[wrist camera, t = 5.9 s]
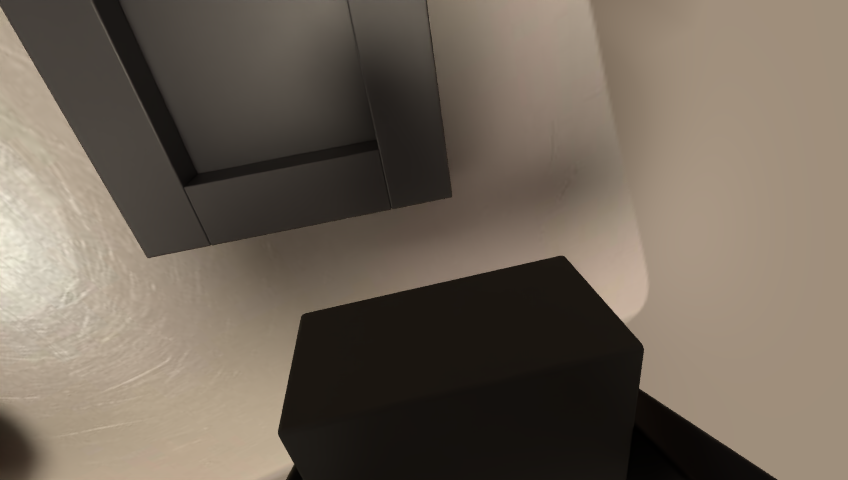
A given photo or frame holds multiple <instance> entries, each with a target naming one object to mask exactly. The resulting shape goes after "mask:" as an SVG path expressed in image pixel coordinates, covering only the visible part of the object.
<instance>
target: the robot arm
mask: <svg viewBox="0 0 848 480" xmlns="http://www.w3.org/2000/svg"><path fill="white" fill-rule="evenodd" d="M286 480H303V479H302V477H301V475H300V473H299V471H298V470H297V468H296V466H295V464H294V466H293V468H292V470H291V471H290V473H289V475H288V477H287V479H286ZM627 480H777V479H776V478H774V477H773V476H771V475H769V474H768V473H766V472H765V471H763V470H762V469H760V468H759V467H757V466H756V465H754V464H753V463H751V462H750V461H748V460H747V459H745V458H744V457H742V456H741V455H739V454H738V453H736V452H735V451H733V450H732V449H730V448H728V447H727V446H726V445H724V444H722V443H721V442H719V441H718V440H716V439H715V438H713V437H712V436H710V435H709V434H707V433H706V432H704V431H703V430H701V429H700V428H698V427H697V426H695V425H693V424H692V423H691V422H689V421H688V420H686V419H684V418H683V417H681V416H680V415H678V414H677V413H675V412H674V411H672V410H671V409H669V408H668V407H666V406H664V405H663V404H662V403H660V402H659V401H657V400H656V399H654V398H653V397H651V396H649V395H648V394H647V393H645V392H643V391H642V390H640V389H639V391H638V399H637V406H636V414H635V422H634V428H633V435H632V442H631V450H630V458H629V465H628V473H627Z"/></svg>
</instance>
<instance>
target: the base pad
mask: <svg viewBox="0 0 848 480" xmlns="http://www.w3.org/2000/svg"><path fill="white" fill-rule="evenodd" d="M0 6H1V8H2V10H3V12H4V13H5V15H6V17H7V18H8V20H9V22H10V24H11V25H12V27H13V29H14V30H15V32H16V34H17V35H18V37H19V39H20V41H21V42H22V44H23V46H24V47H25V49H26V51H27V53H28V54H29V56H30V58H31V59H32V61H33V63H34V65H35V66H36V68H37V70H38V71H39V73H40V75H41V77H42V78H43V80H44V82H45V83H46V85H47V87H48V89H49V90H50V92H51V94H52V95H53V97H54V99H55V101H56V102H57V104H58V106H59V107H60V109H61V111H62V113H63V114H64V116H65V118H66V119H67V121H68V123H69V125H70V126H71V128H72V130H73V131H74V133H75V135H76V137H77V138H78V140H79V142H80V143H81V145H82V147H83V149H84V150H85V152H86V154H87V155H88V157H89V159H90V161H91V162H92V164H93V166H94V167H95V169H96V171H97V173H98V174H99V176H100V178H101V179H102V181H103V183H104V185H105V186H106V188H107V190H108V191H109V193H110V195H111V197H112V198H113V200H114V202H115V203H116V205H117V207H118V208H119V210H120V212H121V214H122V215H123V217H124V219H125V220H126V222H127V224H128V226H129V227H130V229H131V231H132V232H133V234H134V236H135V238H136V239H137V241H138V243H139V244H140V246H141V248H142V250H143V251H144V253H145V255H146V256H147V258H151V257H156V256H161V255H166V254H171V253H176V252H181V251H186V250H191V249H196V248H201V247H206V246H210V245H217V244H222V243H227V242H232V241H237V240H241V239H246V238H251V237H256V236H261V235H266V234H271V233H276V232H281V231H286V230H291V229H296V228H301V227H306V226H311V225H316V224H321V223H326V222H331V221H336V220H341V219H346V218H351V217H356V216H361V215H366V214H371V213H376V212H381V211H386V210H391V208H392V209H396V208H401V207H406V206H411V205H416V204H421V203H426V202H431V201H436V200H441V199H446V198H451V197H452V190H451V182H450V175H449V167H448V159H447V152H446V144H445V137H444V129H443V121H442V114H441V106H440V99H439V91H438V83H437V76H436V68H435V60H434V53H433V45H432V38H431V30H430V22H429V15H428V7H427V0H0Z"/></svg>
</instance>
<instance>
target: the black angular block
mask: <svg viewBox="0 0 848 480" xmlns="http://www.w3.org/2000/svg"><path fill="white" fill-rule="evenodd" d="M643 353H644V348H643V345H642V343H641V342H640V341H639V340H638V339H637V338H636V337H635V336H634V334H633V333H632V332H631V331H630V330H629V329H628V328H627V327H626V325H625V324H624V323H623V322H622V321H621V320H620V319H619V317H618V316H617V315H616V314H615V313H614V312H613V311H612V310H611V308H610V307H609V306H608V305H607V304H606V303H605V302H604V300H603V299H602V298H601V297H600V296H599V295H598V294H597V293H596V291H595V290H594V289H593V288H592V287H591V286H590V285H589V283H588V282H587V281H586V280H585V279H584V278H583V277H582V276H581V274H580V273H579V272H578V271H577V270H576V269H575V268H574V267H573V265H572V264H571V263H570V262H569V261H568V260H567V259H566V257H564V256H557V257H552V258H548V259H544V260H539V261H535V262H530V263H526V264H522V265H517V266H513V267H508V268H504V269H499V270H495V271H491V272H486V273H482V274H477V275H473V276H468V277H464V278H460V279H455V280H451V281H446V282H442V283H437V284H433V285H429V286H424V287H420V288H415V289H411V290H407V291H402V292H398V293H393V294H389V295H384V296H380V297H376V298H371V299H367V300H362V301H358V302H353V303H349V304H345V305H340V306H336V307H331V308H327V309H322V310H318V311H314V312H309V313H305V314H303V315H302V316H301V320H300V325H299V330H298V335H297V340H296V345H295V350H294V355H293V360H292V365H291V370H290V375H289V380H288V385H287V389H286V394H285V399H284V404H283V409H282V414H281V419H280V424H279V429H278V435H279V437H280V439H281V441H282V443H283V445H284V446H285V448H286V450H287V452H288V453H289V455H290V457H291V459H292V461H293V462H294V464H295V466H296V468H297V470H298V471H299V473H300V475H301V477H302V479H303V480H627V473H628V465H629V458H630V450H631V442H632V435H633V428H634V422H635V414H636V406H637V399H638V391H639V384H640V375H641V369H642V361H643Z"/></svg>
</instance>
